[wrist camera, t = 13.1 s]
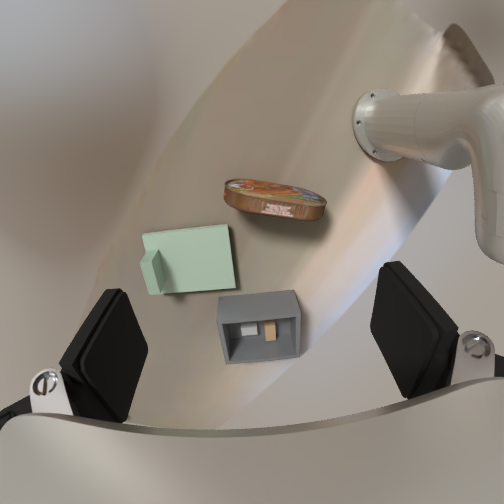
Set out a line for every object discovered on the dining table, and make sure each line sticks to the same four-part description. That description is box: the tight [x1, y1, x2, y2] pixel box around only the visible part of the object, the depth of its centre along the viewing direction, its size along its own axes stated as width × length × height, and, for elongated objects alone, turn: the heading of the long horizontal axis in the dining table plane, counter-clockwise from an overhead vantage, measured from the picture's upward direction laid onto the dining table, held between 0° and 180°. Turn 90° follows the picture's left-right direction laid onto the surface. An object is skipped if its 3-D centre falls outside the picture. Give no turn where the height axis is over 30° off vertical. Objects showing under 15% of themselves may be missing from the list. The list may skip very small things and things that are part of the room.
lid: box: [140, 224, 236, 295], centre depth 45 cm, size 14×11×7 cm
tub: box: [216, 290, 301, 364], centre depth 51 cm, size 14×11×7 cm
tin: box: [224, 179, 327, 221], centre depth 40 cm, size 15×3×8 cm, turn 80°
